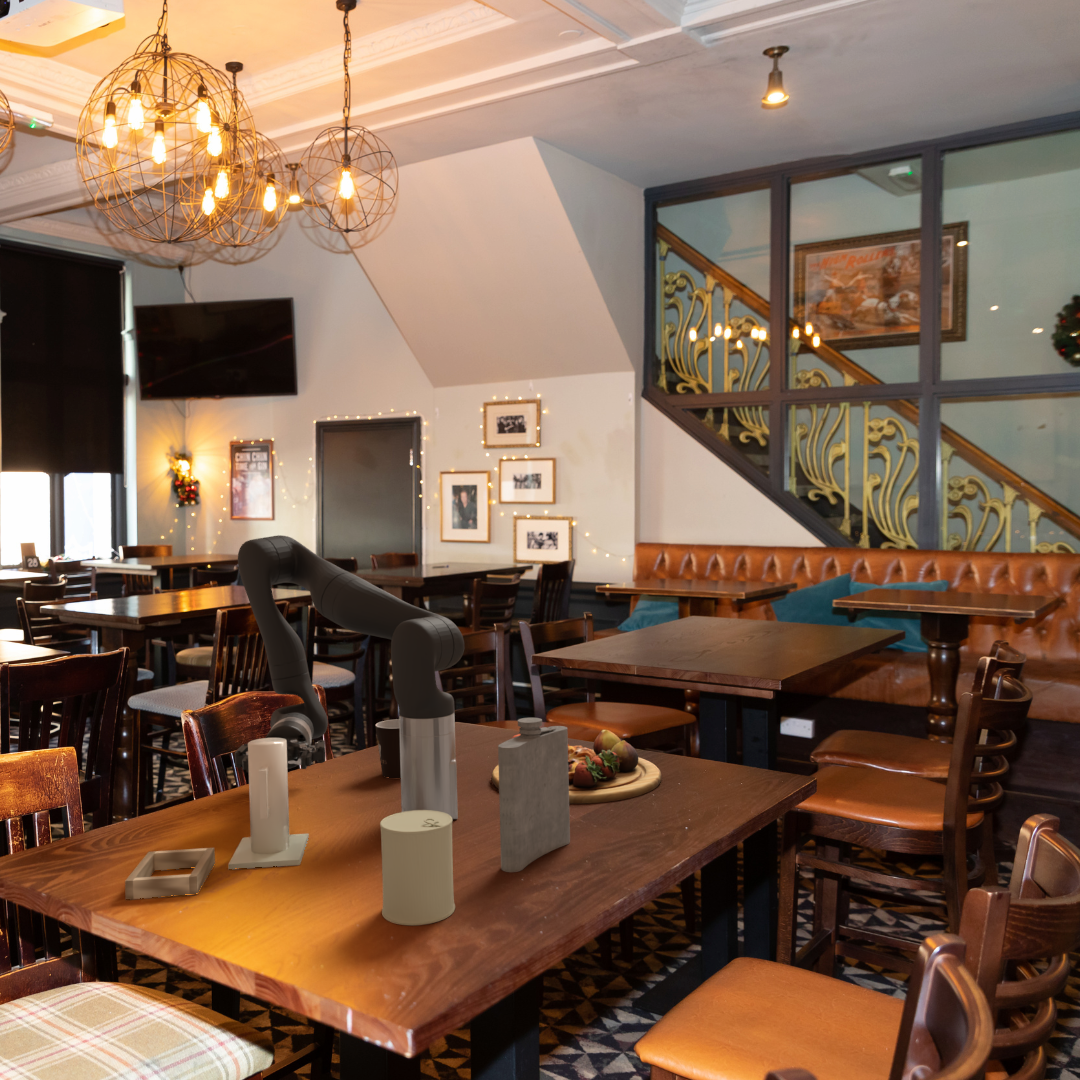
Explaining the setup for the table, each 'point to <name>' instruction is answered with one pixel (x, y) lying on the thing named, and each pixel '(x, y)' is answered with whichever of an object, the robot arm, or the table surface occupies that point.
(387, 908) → the can
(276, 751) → the cream jug
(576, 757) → the wooden plate with food
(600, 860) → the table surface
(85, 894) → the table surface
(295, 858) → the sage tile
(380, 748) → the coffee mug
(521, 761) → the hip flask
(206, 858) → the collar
